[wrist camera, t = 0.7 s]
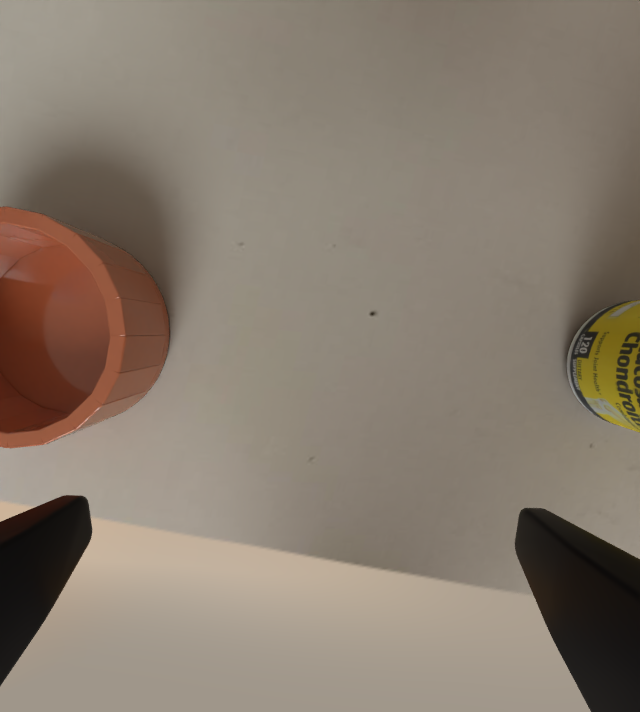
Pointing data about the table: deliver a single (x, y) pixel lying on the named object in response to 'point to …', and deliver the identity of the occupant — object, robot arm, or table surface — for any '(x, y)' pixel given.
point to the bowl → (71, 329)
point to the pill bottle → (609, 364)
